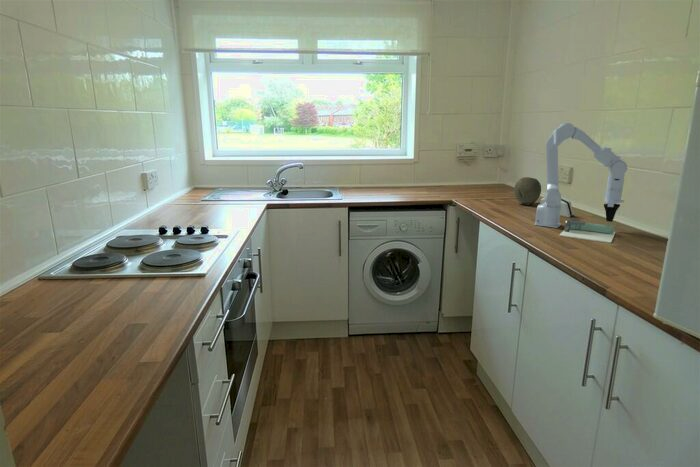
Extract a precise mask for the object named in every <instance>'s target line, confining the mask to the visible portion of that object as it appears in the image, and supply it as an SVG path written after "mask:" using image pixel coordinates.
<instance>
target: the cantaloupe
mask: <svg viewBox="0 0 700 467" xmlns="http://www.w3.org/2000/svg"><path fill="white" fill-rule="evenodd" d="M541 192H542V186H541V182H540V181H539V180H538V179H537V178H534V177H529V176H525V177H521V178H520V179H518V180H517V182H516V183H515V184H514V188H513V193H514V197H515V199H516V200H517V201H518V202H519V203H520V204H522V205H525V206H530V205H533V204H534V203H536V202H537V201H538V200H539V198H540V196H541V194H542V193H541Z"/></svg>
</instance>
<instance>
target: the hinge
mask: <svg viewBox="0 0 700 467" xmlns="http://www.w3.org/2000/svg"><path fill="white" fill-rule="evenodd" d="M543 203H545V196H544V197H543V198H541V199H540V201H539V205H543ZM559 204H560V205H561V210H560V217H561V216H562V217H567V218H572V217H571V216H573V217H576V213H575V212H574V211H573V207H572V203H571V201H570V200H569V199H566V198H565V197H562V196H561V202H560V203H559Z"/></svg>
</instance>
